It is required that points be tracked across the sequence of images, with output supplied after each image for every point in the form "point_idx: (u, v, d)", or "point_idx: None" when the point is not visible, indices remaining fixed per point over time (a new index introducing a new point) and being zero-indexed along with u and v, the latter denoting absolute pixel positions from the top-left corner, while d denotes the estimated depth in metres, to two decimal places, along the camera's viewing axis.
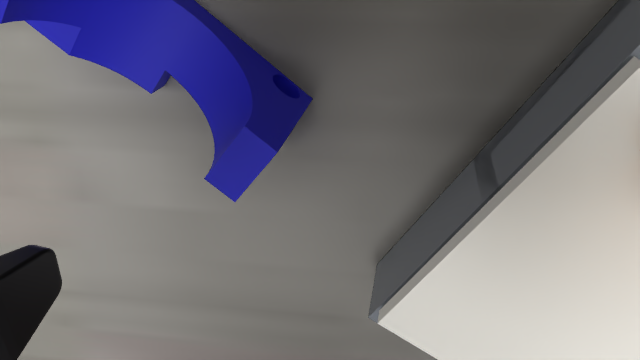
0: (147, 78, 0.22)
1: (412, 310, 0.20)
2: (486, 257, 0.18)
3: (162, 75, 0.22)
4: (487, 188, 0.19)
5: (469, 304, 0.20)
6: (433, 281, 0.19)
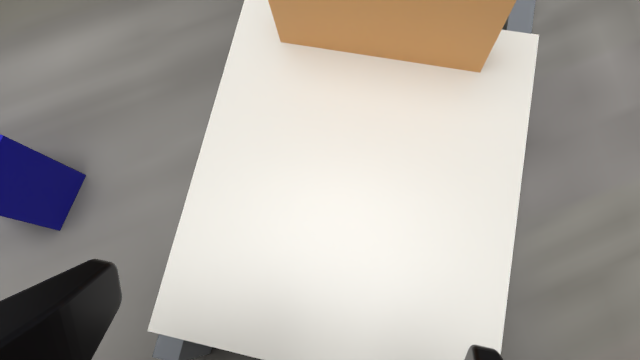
0: None
1: (178, 288, 0.17)
2: (222, 183, 0.18)
3: None
4: None
5: (232, 248, 0.17)
6: (185, 237, 0.18)
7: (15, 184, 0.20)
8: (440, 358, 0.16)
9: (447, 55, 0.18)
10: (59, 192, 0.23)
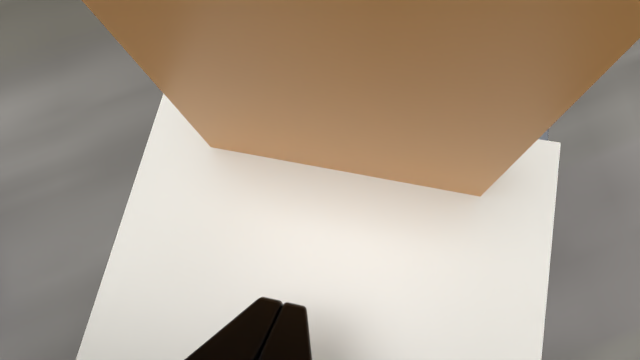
0: None
1: None
2: (120, 355, 0.13)
3: None
4: None
5: None
6: None
7: None
8: None
9: (435, 179, 0.13)
10: None
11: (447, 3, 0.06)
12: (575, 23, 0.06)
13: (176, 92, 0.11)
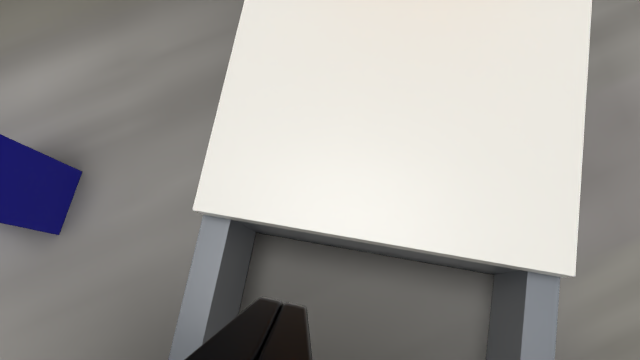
0: None
1: (224, 165, 0.16)
2: (264, 57, 0.17)
3: None
4: None
5: (279, 121, 0.16)
6: (228, 112, 0.16)
7: (4, 185, 0.18)
8: (513, 220, 0.15)
9: None
10: (54, 192, 0.20)
11: None
12: None
13: None
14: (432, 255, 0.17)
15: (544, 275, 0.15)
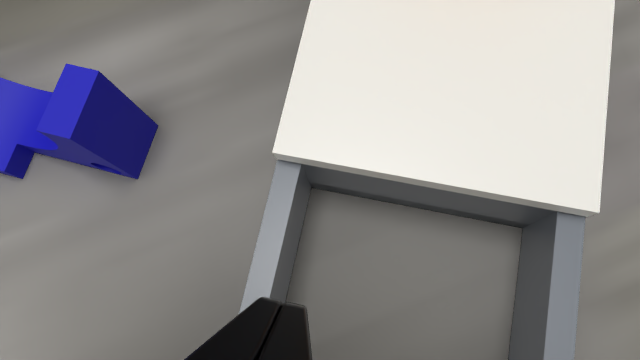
0: (0, 158, 0.23)
1: (299, 116, 0.19)
2: (333, 28, 0.20)
3: (15, 151, 0.24)
4: None
5: (346, 81, 0.19)
6: (302, 73, 0.19)
7: (106, 124, 0.20)
8: (547, 166, 0.17)
9: None
10: (138, 139, 0.23)
11: None
12: None
13: None
14: (473, 201, 0.19)
15: (571, 216, 0.18)
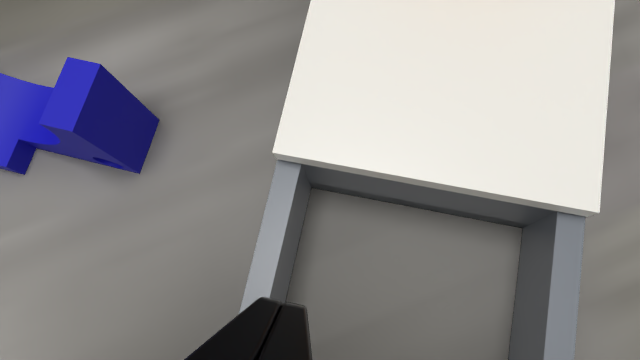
0: (2, 153, 0.23)
1: (299, 116, 0.19)
2: (333, 28, 0.20)
3: (17, 147, 0.24)
4: None
5: (346, 81, 0.19)
6: (302, 73, 0.19)
7: (108, 117, 0.20)
8: (547, 166, 0.17)
9: None
10: (139, 133, 0.23)
11: None
12: None
13: None
14: (473, 201, 0.19)
15: (571, 216, 0.18)
